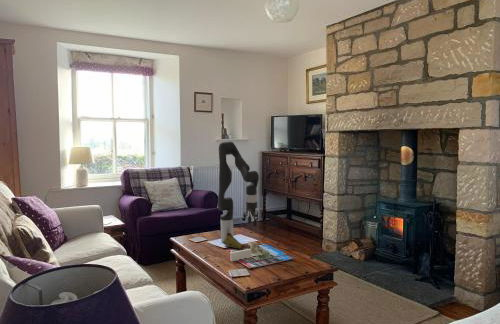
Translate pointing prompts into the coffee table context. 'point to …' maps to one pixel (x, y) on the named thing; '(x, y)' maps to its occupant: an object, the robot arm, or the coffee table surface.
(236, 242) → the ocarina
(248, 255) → the cream rectangular block
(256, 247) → the marked cube
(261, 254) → the mat
